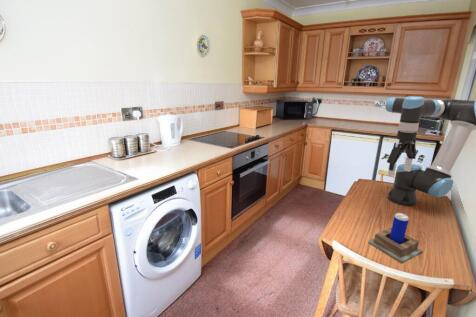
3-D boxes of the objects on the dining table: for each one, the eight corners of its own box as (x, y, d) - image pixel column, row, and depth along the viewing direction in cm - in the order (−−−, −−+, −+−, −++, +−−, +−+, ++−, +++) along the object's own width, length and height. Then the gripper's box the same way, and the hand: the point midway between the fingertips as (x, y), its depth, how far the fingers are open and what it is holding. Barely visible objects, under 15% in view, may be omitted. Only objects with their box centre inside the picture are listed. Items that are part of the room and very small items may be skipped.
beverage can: (396, 241, 113) (403, 212, 108) (404, 249, 108) (412, 218, 103) (385, 242, 113) (392, 212, 108) (393, 249, 108) (400, 218, 103)
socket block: (388, 234, 120) (390, 225, 119) (422, 252, 107) (425, 242, 106) (368, 242, 114) (370, 233, 112) (401, 263, 101) (404, 253, 99)
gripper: (413, 126, 124) (405, 166, 131) (383, 132, 113) (375, 176, 119) (430, 129, 118) (420, 170, 124) (400, 136, 106) (391, 181, 113)
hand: (398, 173), depth 122 cm, fingers open, 13 cm apart
